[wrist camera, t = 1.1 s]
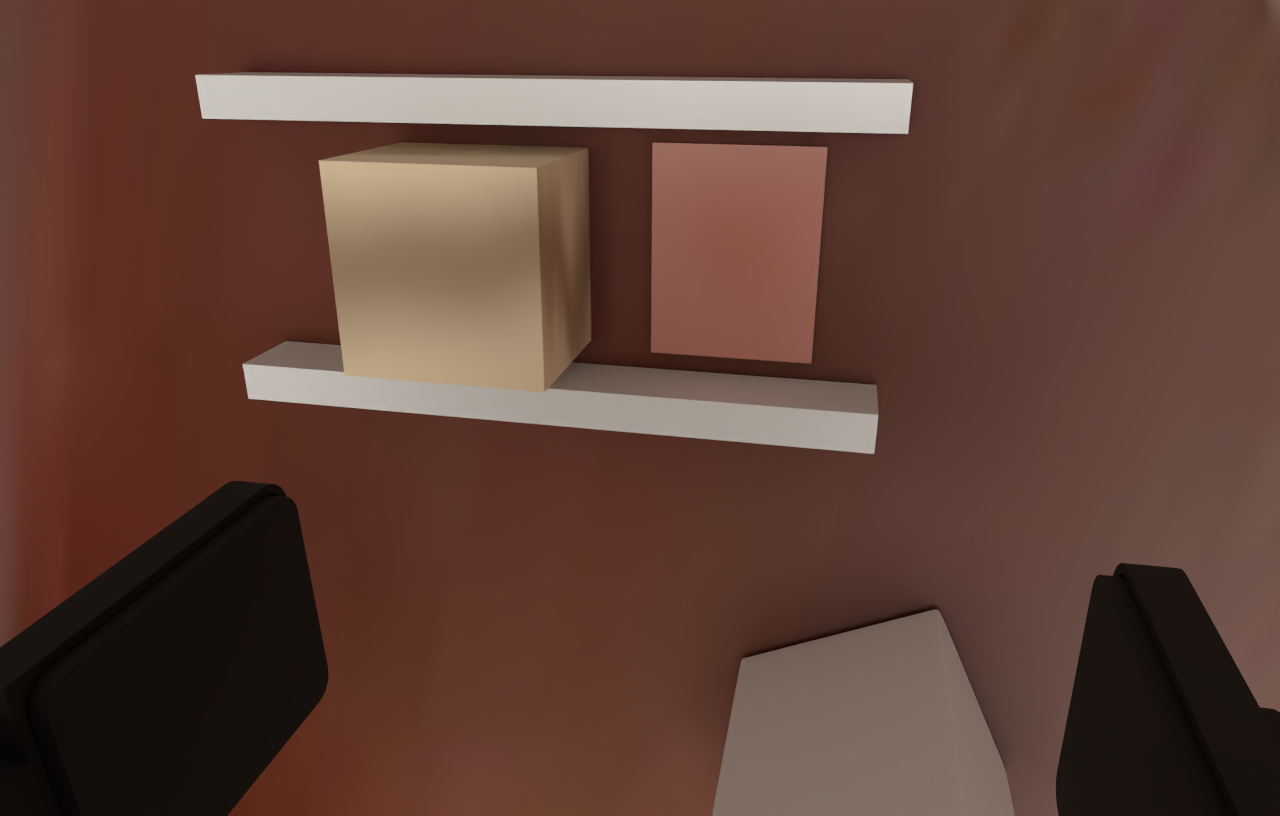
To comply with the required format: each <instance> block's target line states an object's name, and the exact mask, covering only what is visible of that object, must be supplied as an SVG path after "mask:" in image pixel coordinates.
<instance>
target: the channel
mask: <svg viewBox="0 0 1280 816" xmlns="http://www.w3.org/2000/svg"><path fill="white" fill-rule="evenodd" d="M195 77H196V83H197V89H198V95H199V101H200V107H201V113H202V118H207V119H252V120H298V121H343V122H389V123H434V124H479V125H525V126H570V127H616V128H661V129H706V130H752V131H797V132H842V133H888V134H908V129H909V120H910V110H911V101H912V91H913V83H912V82H911V81H910V80H908V79H831V78H739V77H646V76H553V75H461V74H368V73H276V72H241V73H222V74H203V75H195ZM827 151H828V146H796V145H756V144H716V143H676V142H653V145H652V282H651V352H653V353H667V354H682V355H696V356H710V357H724V358H738V359H752V360H767V361H781V362H795V363H809V364H811V363H812V351H813V338H814V324H815V311H816V297H817V284H818V271H819V257H820V244H821V231H822V217H823V204H824V191H825V177H826V164H827ZM243 368H244V375H245V381H246V387H247V393H248V399H259V400H271V401H282V402H293V403H304V404H316V405H327V406H338V407H350V408H361V409H372V410H384V411H395V412H406V413H418V414H429V415H440V416H451V417H463V418H474V419H485V420H497V421H508V422H519V423H531V424H542V425H553V426H565V427H576V428H587V429H599V430H610V431H621V432H632V433H644V434H655V435H666V436H678V437H689V438H700V439H712V440H723V441H734V442H746V443H757V444H768V445H779V446H791V447H802V448H813V449H825V450H836V451H847V452H859V453H870V454H874V452H875V442H876V433H877V423H878V399H877V385H871V384H858V383H844V382H831V381H817V380H804V379H790V378H777V377H763V376H750V375H736V374H723V373H709V372H696V371H682V370H669V369H655V368H642V367H629V366H615V365H602V364H588V363H575V362H571V363H570V365H569V366H568V367H567V368H566V369H565V370H564V371H563V372H562V373H561V375H560V376H559V377H558V378H557V379H556V380H555V381H554V382H553V384H552V385H551V386H550V387H549V388H548V389H547V390H546V391H545V392H534V391H522V390H510V389H498V388H487V387H475V386H463V385H451V384H439V383H427V382H415V381H403V380H391V379H380V378H368V377H356V376H345V375H344V367H343V358H342V350H341V345H332V344H318V343H305V342H291V341H285V342H283V343H282V344H280V345H278V346H276V347H274V348H272V349H270V350H268V351H266V352H264V353H263V354H261V355H259V356H257V357H255V358H253V359H251V360H249V361H247V362H245V363H244V364H243Z"/></svg>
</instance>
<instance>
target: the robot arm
mask: <svg viewBox="0 0 1280 816" xmlns="http://www.w3.org/2000/svg"><path fill="white" fill-rule="evenodd" d="M327 683H328V666H327V661H326V656H325V650H324V645H323V640H322V635H321V630H320V624H319V619H318V614H317V609H316V604H315V599H314V593H313V588H312V583H311V578H310V573H309V567H308V562H307V557H306V552H305V547H304V542H303V536H302V531H301V526H300V521H299V516H298V510H297V507H296V504H295V503H294V501H293V500H292V499H291V498H289V497H286V494H285V492H284V491H283V489H282V488H281V487H279V486H277V485H275V484H265V483H254V482H243V481H231V482H229V483H227V484H225V485H224V486H223V487H221V488H220V489H218V490H217V491H216V492H214V493H213V494H211V495H210V496H209V497H207V498H206V499H205V500H203V501H202V502H200V503H199V504H198V505H196V506H195V507H194V508H192V509H191V510H189V511H188V512H187V513H185V514H184V515H183V516H181V517H180V518H178V519H177V520H176V521H174V522H173V523H171V524H170V525H169V526H167V527H166V528H165V529H163V530H162V531H160V532H159V533H158V534H156V535H155V536H154V537H152V538H151V539H149V540H148V541H147V542H145V543H144V544H142V545H141V546H140V547H138V548H137V549H136V550H134V551H133V552H131V553H130V554H129V555H127V556H126V557H125V558H123V559H122V560H120V561H119V562H118V563H116V564H115V565H114V566H112V567H111V568H109V569H108V570H107V571H105V572H104V573H102V574H101V575H100V576H98V577H97V578H96V579H94V580H93V581H91V582H90V583H89V584H87V585H86V586H85V587H83V588H82V589H80V590H79V591H78V592H76V593H75V594H73V595H72V596H71V597H69V598H68V599H67V600H65V601H64V602H62V603H61V604H60V605H58V606H57V607H56V608H54V609H53V610H51V611H50V612H49V613H47V614H46V615H45V616H43V617H42V618H40V619H39V620H38V621H36V622H35V623H33V624H32V625H31V626H29V627H28V628H27V629H25V630H24V631H22V632H21V633H20V634H18V635H17V636H16V637H14V638H13V639H11V640H10V641H9V642H7V643H6V644H4V645H3V646H2V647H0V816H227V815H228V814H229V813H230V812H231V810H232V809H233V808H234V807H235V805H236V804H237V803H238V802H239V800H240V799H241V798H242V797H243V795H244V794H245V793H246V792H247V791H248V789H249V788H250V787H251V786H252V784H253V783H254V782H255V781H256V779H257V778H258V777H259V776H260V774H261V773H262V772H263V771H264V769H265V768H266V767H267V766H268V765H269V763H270V762H271V761H272V760H273V758H274V757H275V756H276V755H277V753H278V752H279V751H280V750H281V748H282V747H283V746H284V745H285V743H286V742H287V741H288V740H289V739H290V737H291V736H292V735H293V734H294V732H295V731H296V730H297V729H298V727H299V726H300V725H301V724H302V722H303V721H304V720H305V719H306V718H307V716H308V715H309V714H310V713H311V711H312V710H313V709H314V708H315V706H316V705H317V704H318V703H319V701H320V700H321V698H322V697H323V695H324V692H325V690H326V687H327ZM1056 800H1057V808H1058V813H1059V816H1280V712H1278V711H1276V710H1274V709H1268V708H1260V707H1259V705H1258V704H1257V702H1256V700H1255V698H1254V696H1253V694H1252V693H1251V691H1250V689H1249V687H1248V685H1247V684H1246V682H1245V680H1244V678H1243V676H1242V675H1241V673H1240V671H1239V669H1238V667H1237V666H1236V664H1235V662H1234V660H1233V658H1232V656H1231V655H1230V653H1229V651H1228V649H1227V647H1226V646H1225V644H1224V642H1223V640H1222V638H1221V637H1220V635H1219V633H1218V631H1217V629H1216V628H1215V626H1214V624H1213V622H1212V620H1211V618H1210V617H1209V615H1208V613H1207V611H1206V609H1205V608H1204V606H1203V604H1202V602H1201V600H1200V599H1199V597H1198V595H1197V593H1196V591H1195V589H1194V588H1193V586H1192V584H1191V582H1190V580H1189V579H1188V577H1187V575H1186V574H1185V572H1184V571H1183V570H1182V569H1178V568H1170V567H1159V566H1148V565H1137V564H1126V563H1120V564H1119V565H1118V566H1117V567H1116V569H1115V571H1114V574H1113V576H1106V575H1098V576H1097V577H1096V578H1095V581H1094V583H1093V587H1092V592H1091V597H1090V602H1089V608H1088V613H1087V618H1086V623H1085V629H1084V634H1083V639H1082V644H1081V650H1080V655H1079V660H1078V665H1077V671H1076V676H1075V681H1074V686H1073V692H1072V697H1071V702H1070V707H1069V712H1068V718H1067V723H1066V728H1065V733H1064V739H1063V744H1062V749H1061V754H1060V760H1059V765H1058V770H1057V777H1056Z"/></svg>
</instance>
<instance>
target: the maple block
mask: <svg viewBox="0 0 1280 816" xmlns="http://www.w3.org/2000/svg"><path fill="white" fill-rule="evenodd" d="M319 166H320V175H321V183H322V191H323V200H324V208H325V216H326V225H327V233H328V241H329V250H330V258H331V267H332V275H333V283H334V292H335V300H336V308H337V317H338V325H339V333H340V342H341V350H342V358H343V367H344V375H345V376H356V377H368V378H380V379H391V380H403V381H415V382H427V383H439V384H451V385H463V386H475V387H487V388H498V389H510V390H522V391H534V392H545V391H546V390H547V389H548V388H549V387H550V386H551V385H552V384H553V382H554V381H555V380H556V379H557V378H558V377H559V376H560V375H561V373H562V372H563V371H564V370H565V369H566V368H567V367H568V366H569V365H570V363H571V362H572V361H573V360H574V359H575V358H576V357H577V356H578V355H579V353H580V352H581V351H582V350H583V349H584V348H585V347H586V346H587V345H588V343H589V342H590V341H591V280H590V215H589V151H588V148H585V147H550V146H515V145H480V144H446V143H411V142H401V143H396V144H392V145H387V146H382V147H378V148H373V149H369V150H364V151H360V152H355V153H351V154H346V155H342V156H337V157H333V158H328V159H323V160H319Z"/></svg>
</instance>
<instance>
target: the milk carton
mask: <svg viewBox="0 0 1280 816" xmlns="http://www.w3.org/2000/svg"><path fill="white" fill-rule="evenodd" d="M712 816H1015V814H1014V810H1013V805H1012V800H1011V795H1010V790H1009V785H1008V780H1007V775H1006V771H1005V768H1004V765H1003V762H1002V760H1001V757H1000V755H999V752H998V750H997V747H996V745H995V743H994V740H993V738H992V735H991V733H990V730H989V728H988V726H987V723H986V721H985V718H984V716H983V713H982V711H981V709H980V706H979V704H978V701H977V699H976V697H975V694H974V692H973V689H972V687H971V684H970V682H969V680H968V677H967V675H966V672H965V670H964V667H963V665H962V663H961V660H960V658H959V655H958V653H957V650H956V648H955V646H954V643H953V641H952V638H951V636H950V633H949V631H948V629H947V626H946V624H945V622H944V619H943V617H942V615H941V613H940V612H939V610H937V609H936V610H931V611H927V612H923V613H919V614H915V615H911V616H907V617H903V618H899V619H895V620H891V621H887V622H883V623H879V624H875V625H871V626H868V627H864V628H860V629H856V630H852V631H848V632H844V633H840V634H836V635H832V636H828V637H825V638H821V639H817V640H813V641H809V642H805V643H801V644H797V645H793V646H789V647H786V648H782V649H778V650H774V651H770V652H766V653H762V654H759V655H755V656H751V657H747V658H744V659H742V660H741V663H740V668H739V674H738V679H737V684H736V690H735V695H734V700H733V706H732V711H731V716H730V722H729V727H728V732H727V738H726V743H725V748H724V754H723V759H722V764H721V769H720V775H719V780H718V785H717V791H716V796H715V801H714V807H713V812H712Z"/></svg>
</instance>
